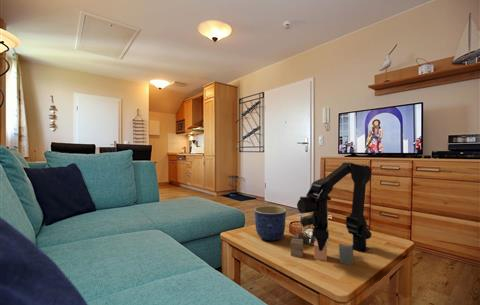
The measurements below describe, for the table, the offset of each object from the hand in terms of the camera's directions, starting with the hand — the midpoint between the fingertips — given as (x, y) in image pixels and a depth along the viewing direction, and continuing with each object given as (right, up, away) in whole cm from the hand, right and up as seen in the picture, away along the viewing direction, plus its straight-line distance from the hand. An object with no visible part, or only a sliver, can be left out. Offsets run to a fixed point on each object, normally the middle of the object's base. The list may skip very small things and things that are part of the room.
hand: (320, 246), depth 100 cm
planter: (-19, -5, +23) cm, 30 cm away
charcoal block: (+9, -5, -3) cm, 11 cm away
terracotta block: (0, -5, 0) cm, 5 cm away
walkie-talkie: (-3, -5, +19) cm, 20 cm away
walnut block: (-10, -5, +3) cm, 11 cm away
